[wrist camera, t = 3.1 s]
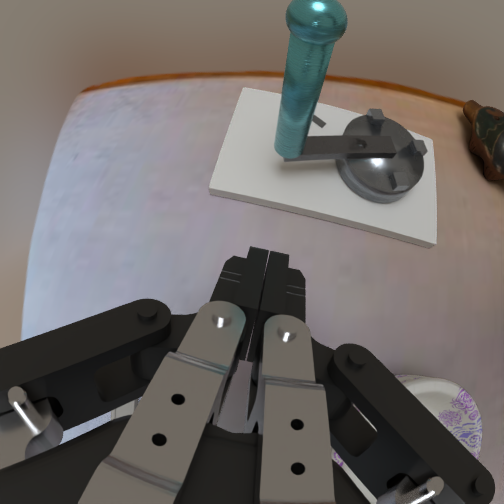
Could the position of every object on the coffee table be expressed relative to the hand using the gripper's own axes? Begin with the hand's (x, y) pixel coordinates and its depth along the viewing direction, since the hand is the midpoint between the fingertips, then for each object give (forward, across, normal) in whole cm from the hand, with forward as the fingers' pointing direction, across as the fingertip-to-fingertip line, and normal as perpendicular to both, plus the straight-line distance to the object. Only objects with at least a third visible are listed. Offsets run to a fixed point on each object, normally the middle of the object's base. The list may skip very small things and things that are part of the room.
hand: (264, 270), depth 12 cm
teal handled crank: (+22, -6, -1) cm, 22 cm away
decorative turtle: (+31, -29, -7) cm, 43 cm away
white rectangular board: (+24, -6, 0) cm, 24 cm away
